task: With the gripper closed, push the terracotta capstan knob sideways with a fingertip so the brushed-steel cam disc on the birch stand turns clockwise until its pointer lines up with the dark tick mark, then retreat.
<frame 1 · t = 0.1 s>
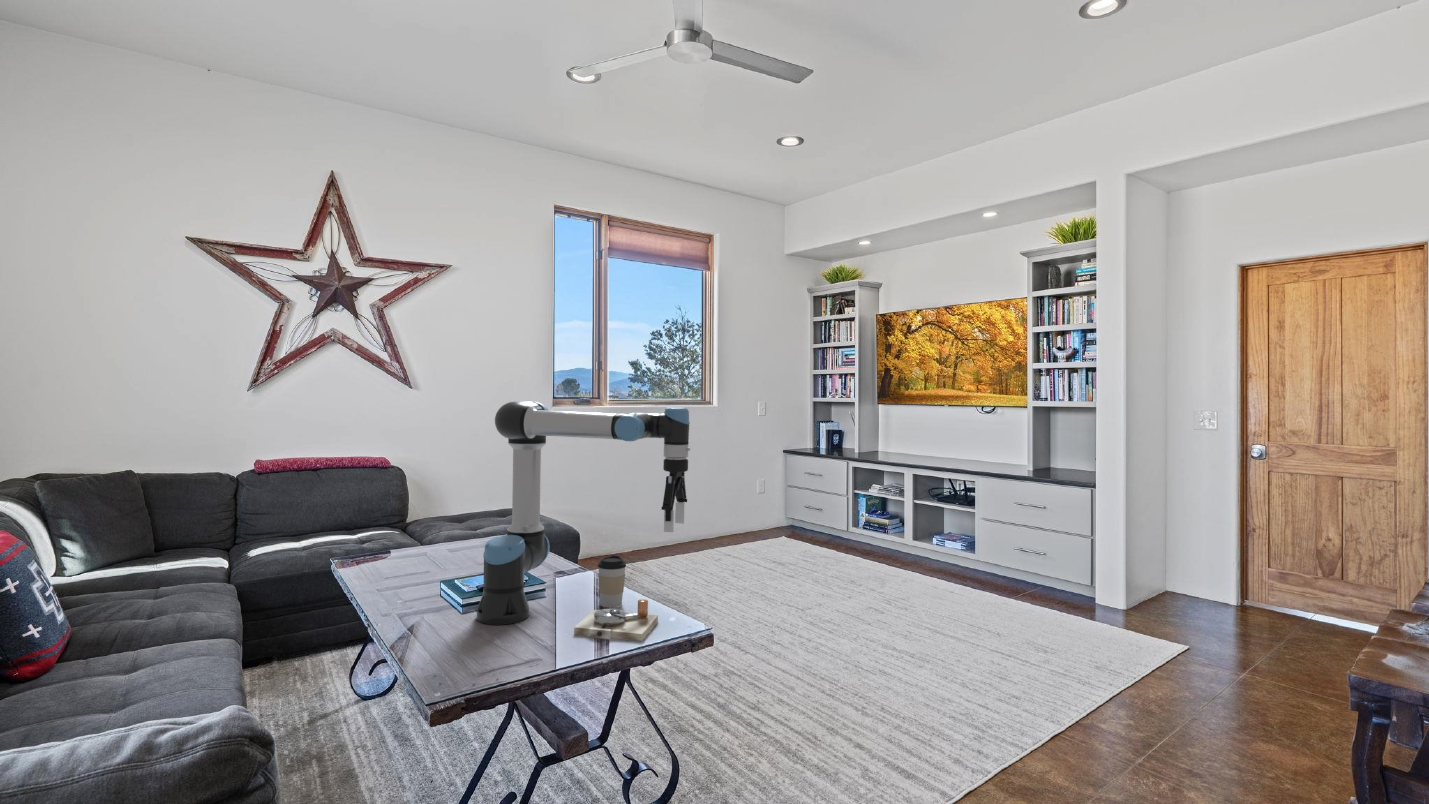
hand: (674, 527, 209), 28 cm above the table, fingers open, 13 cm apart
stand: (617, 627, 199), on the table
coffee cup: (610, 604, 220), on the table
cam capstan: (621, 611, 199), point 5 cm above the table, hinge at 35.0°
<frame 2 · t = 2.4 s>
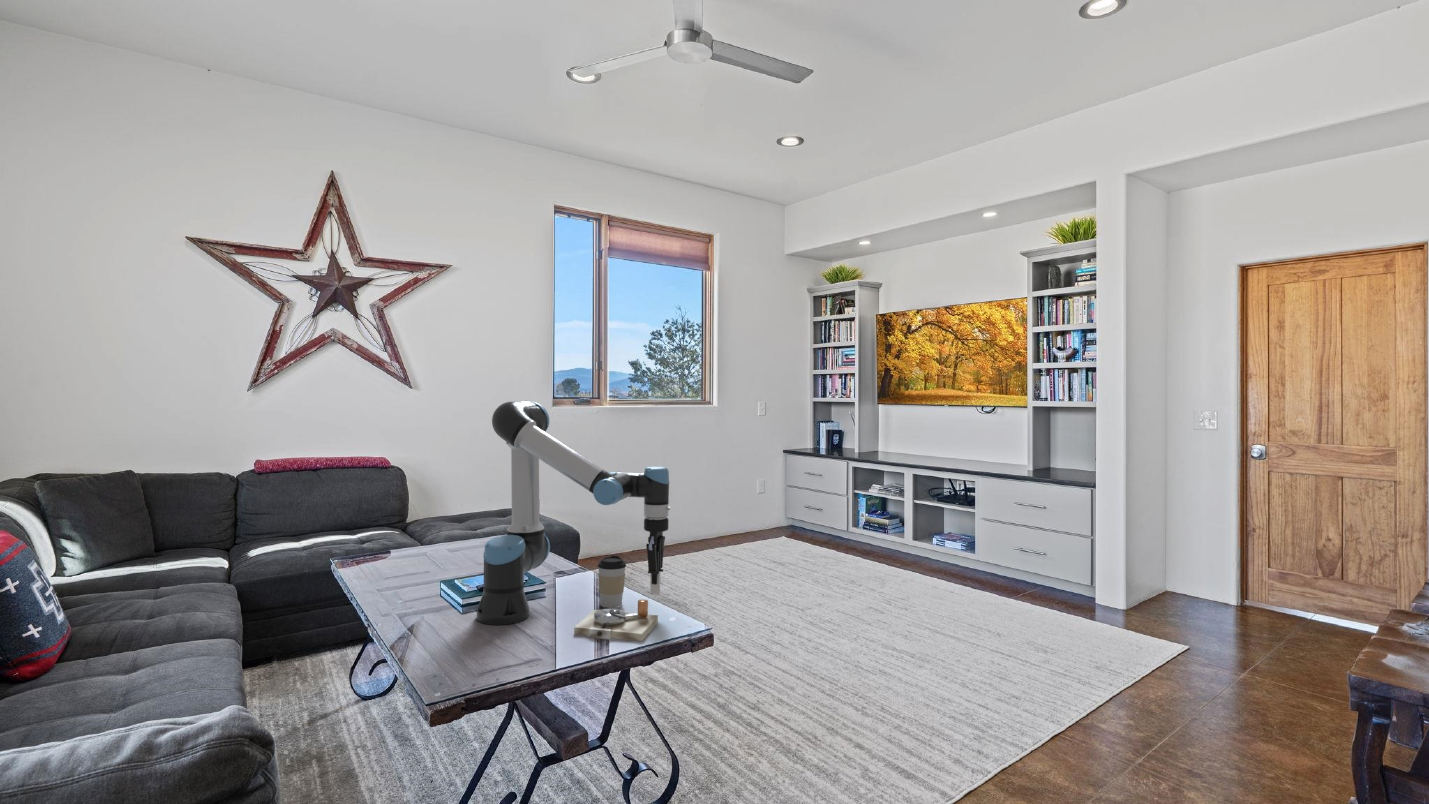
hand: (655, 593, 210), 7 cm above the table, fingers closed
nothing on the table moved.
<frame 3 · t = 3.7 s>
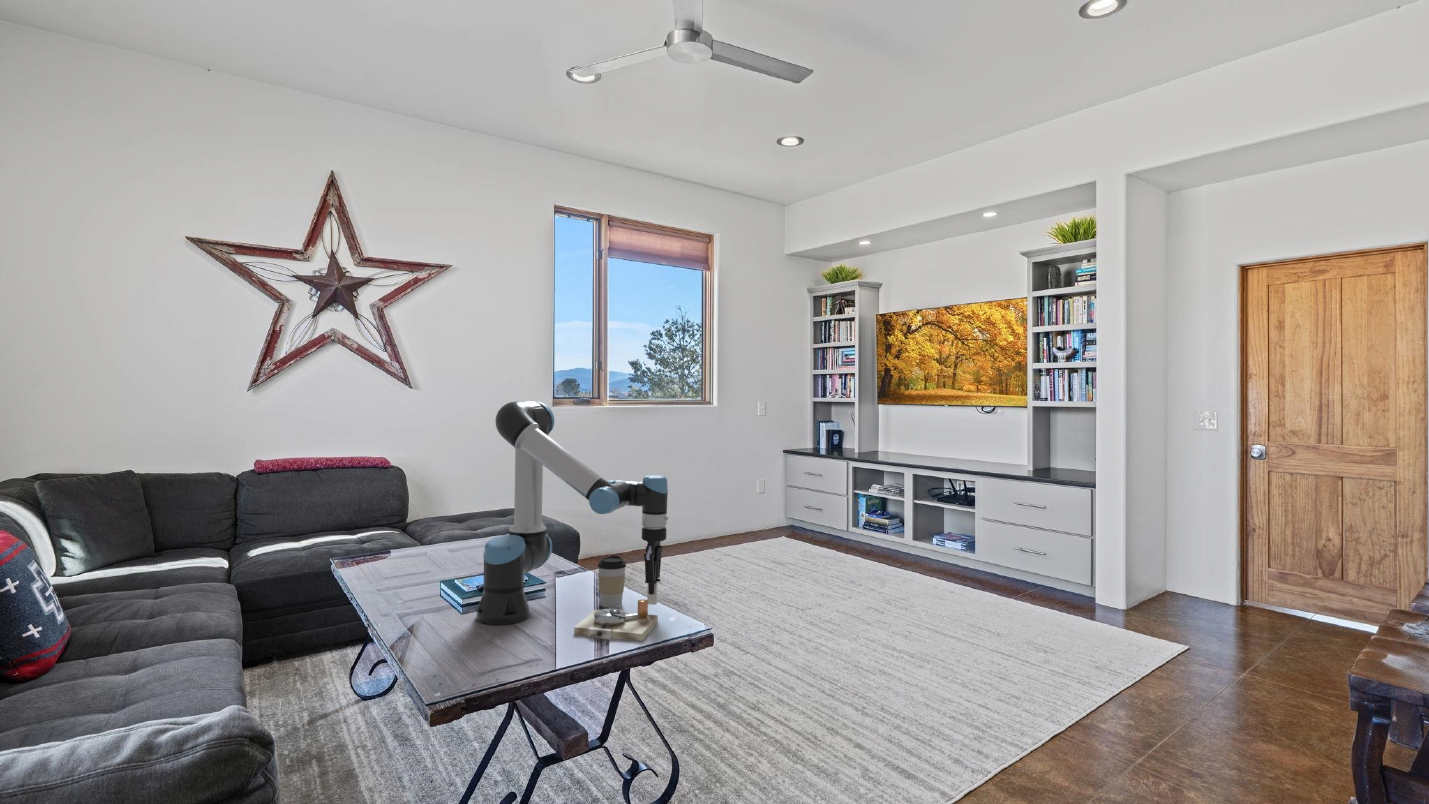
hand: (652, 603, 208), 4 cm above the table, fingers closed
nothing on the table moved.
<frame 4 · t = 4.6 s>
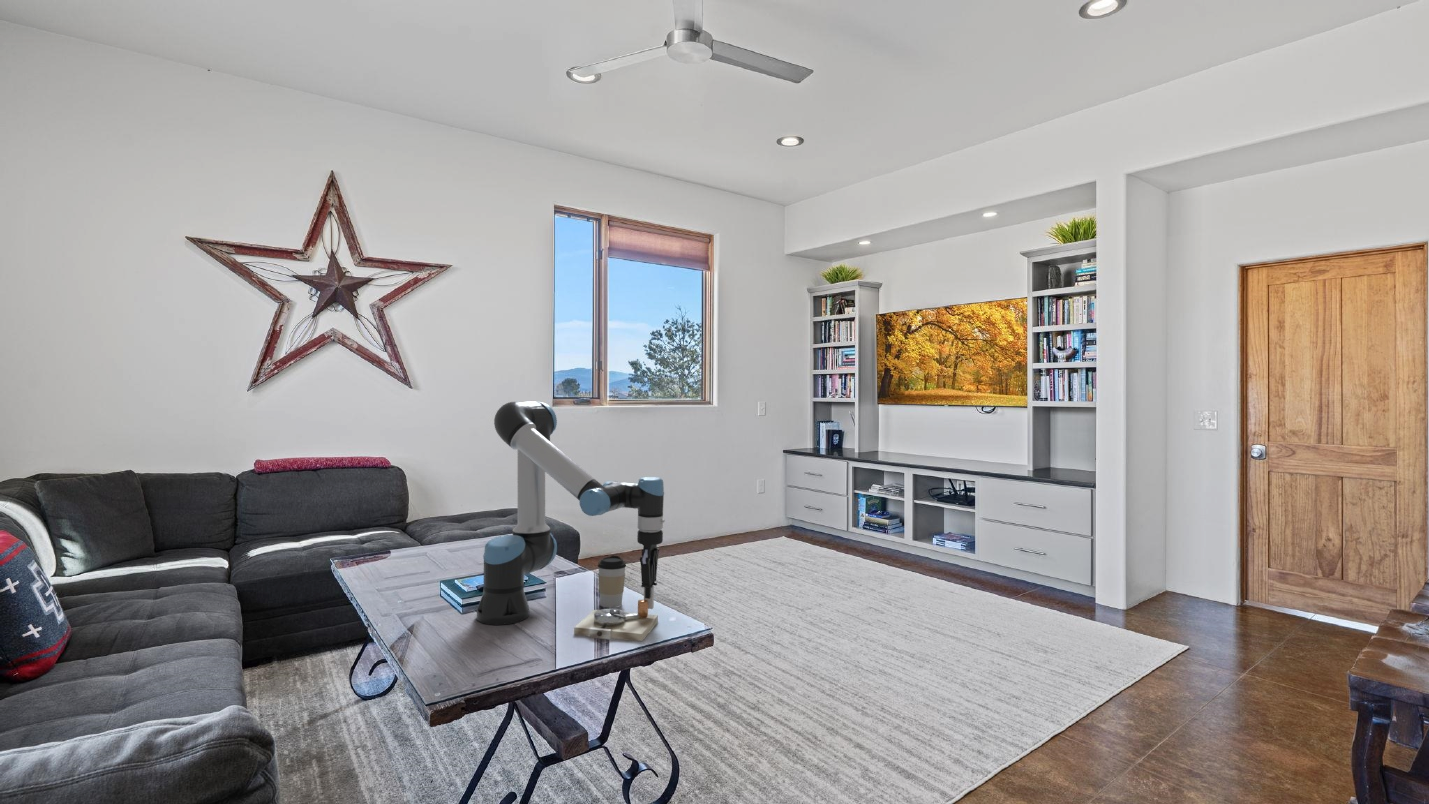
hand: (648, 607, 204), 4 cm above the table, fingers closed
cam capstan: (622, 611, 199), point 5 cm above the table, hinge at 34.4°, touching gripper
everything else where it was.
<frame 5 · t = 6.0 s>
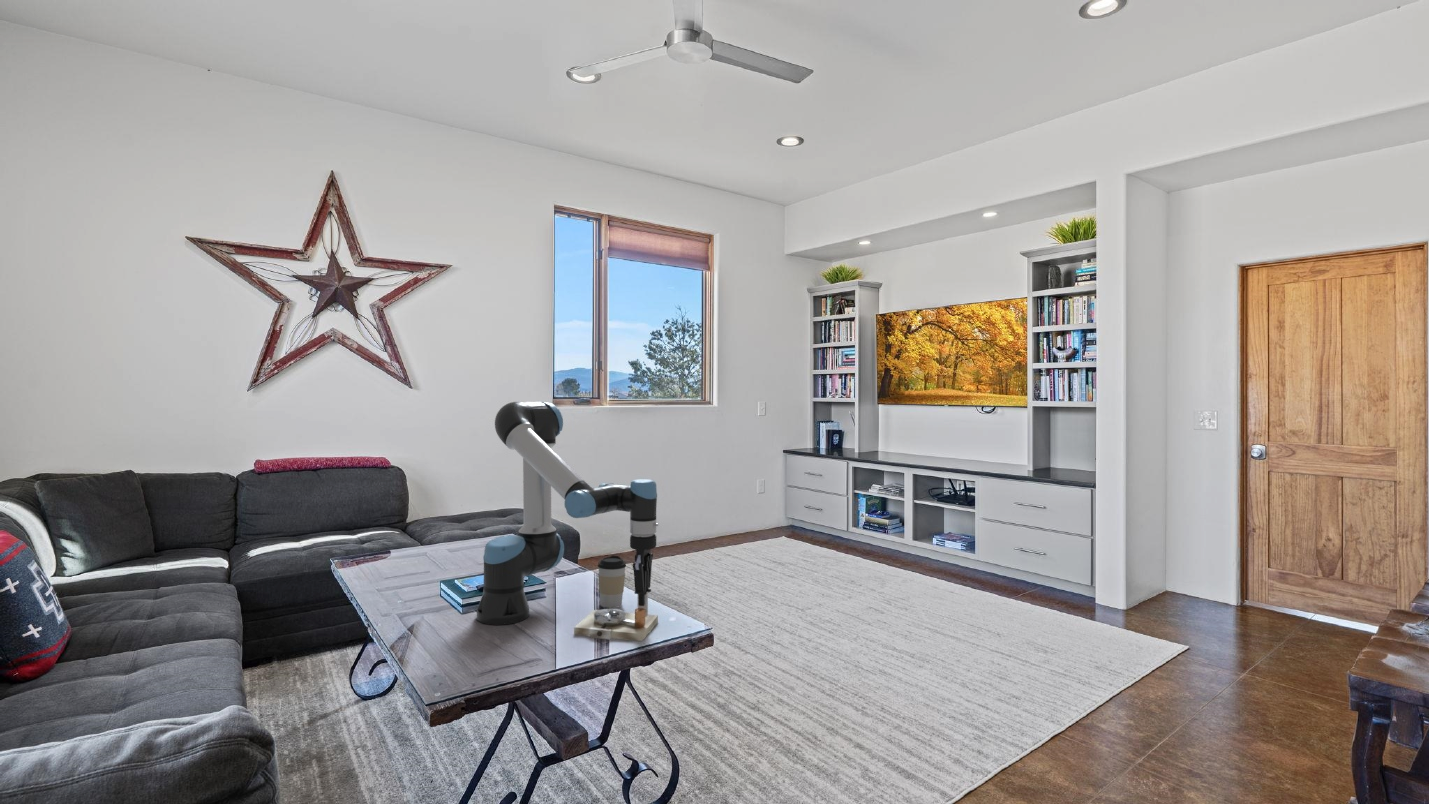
hand: (642, 615, 196), 5 cm above the table, fingers closed
cam capstan: (619, 614, 196), point 5 cm above the table, hinge at -12.3°, touching gripper
everything else where it was.
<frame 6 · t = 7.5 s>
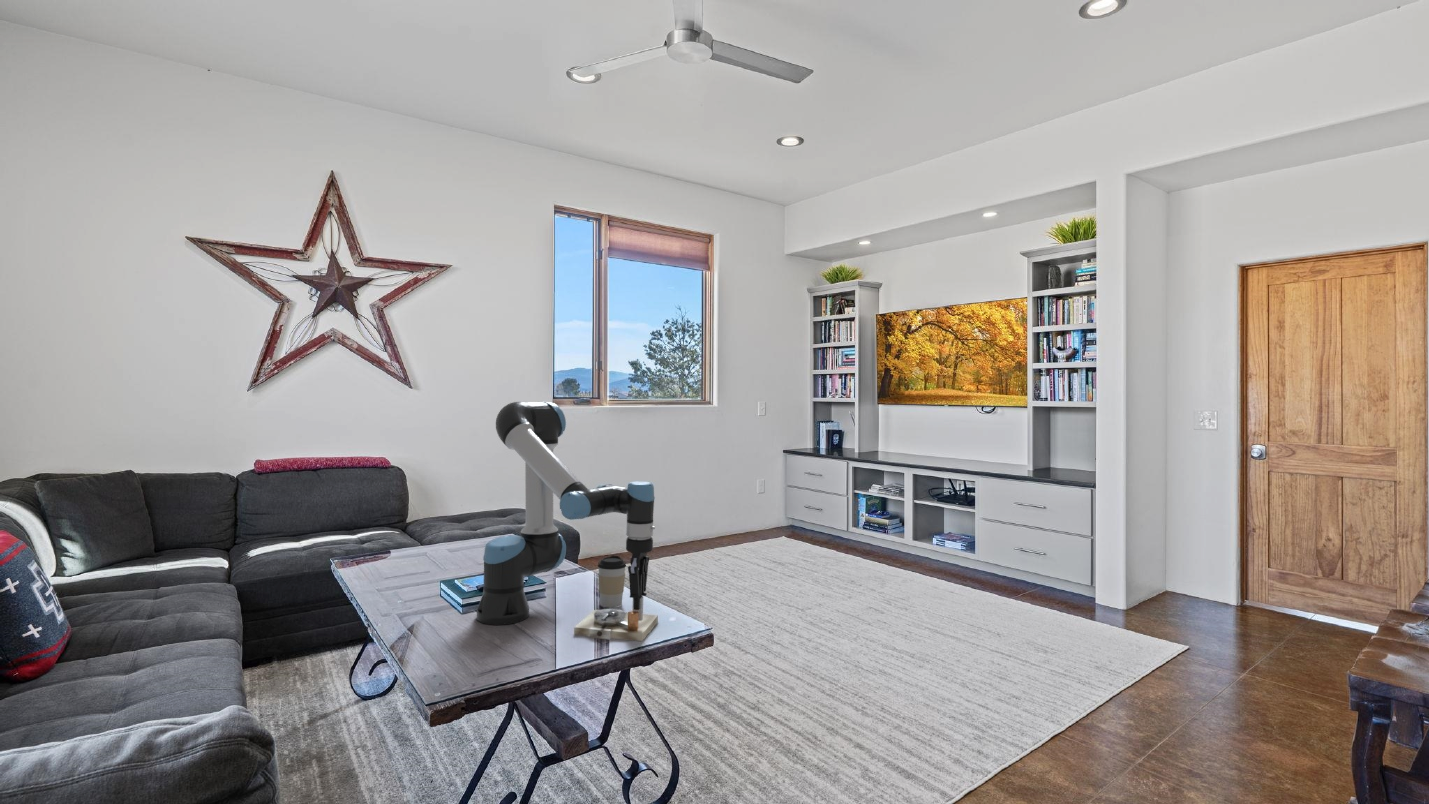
hand: (637, 619, 193), 4 cm above the table, fingers closed
cam capstan: (616, 615, 195), point 5 cm above the table, hinge at -30.2°, touching gripper
everything else where it was.
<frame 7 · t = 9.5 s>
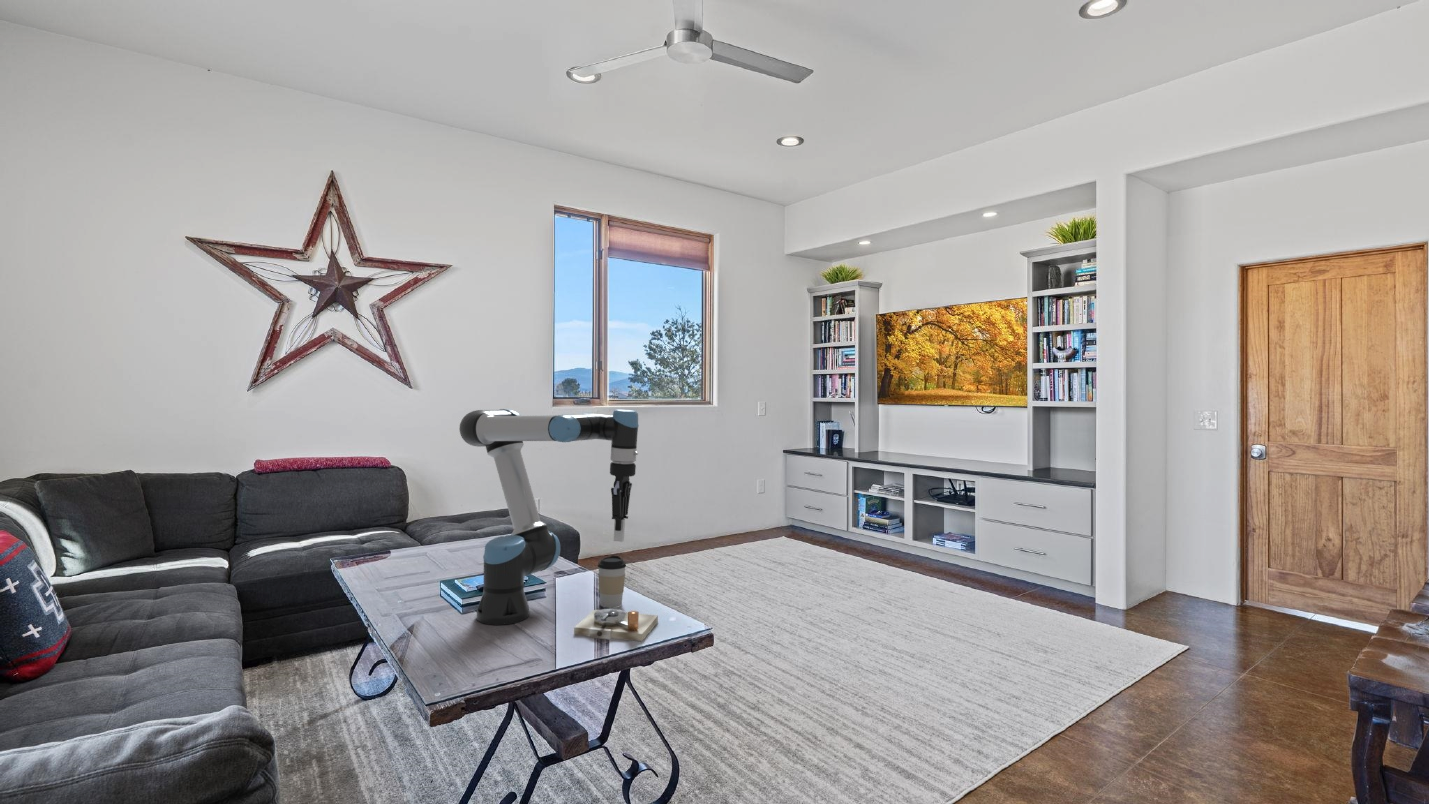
hand: (618, 540, 203), 24 cm above the table, fingers closed
cam capstan: (616, 615, 195), point 5 cm above the table, hinge at -30.2°
everything else where it was.
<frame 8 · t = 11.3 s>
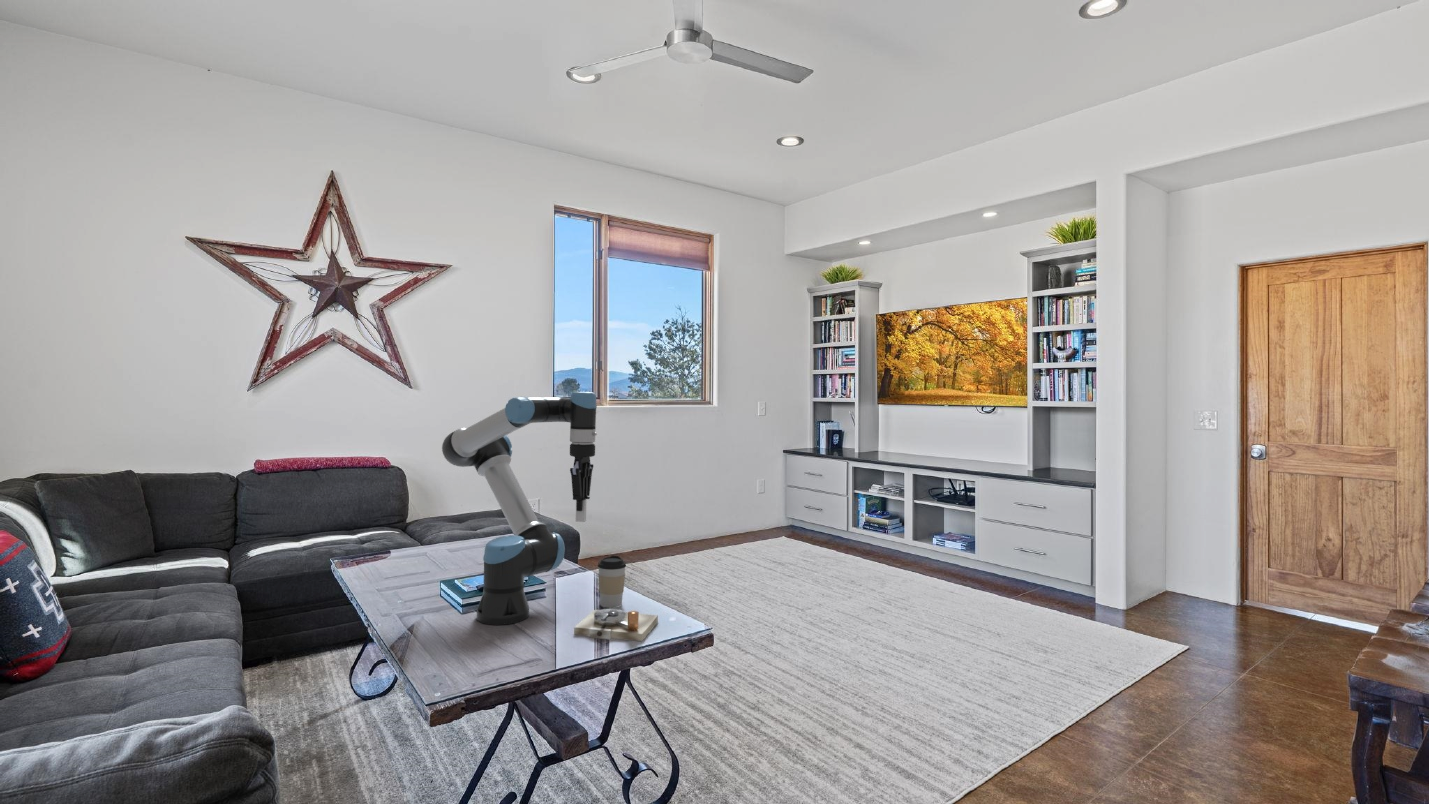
hand: (580, 521, 206), 29 cm above the table, fingers closed
nothing on the table moved.
at the end: cam capstan at -30° (first picture: +35°); coffee cup moved 0.2 cm from its start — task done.
